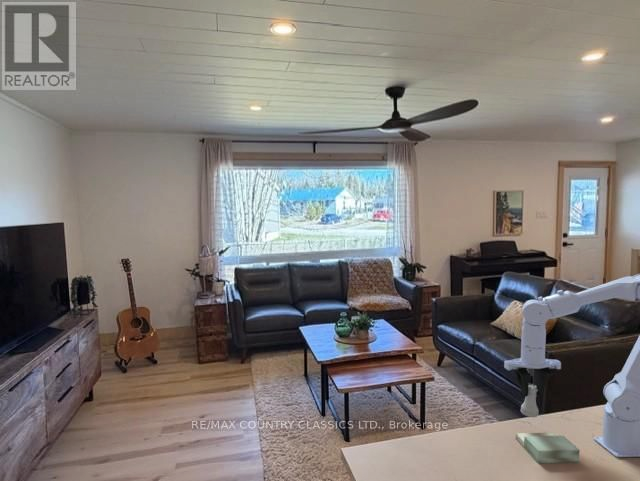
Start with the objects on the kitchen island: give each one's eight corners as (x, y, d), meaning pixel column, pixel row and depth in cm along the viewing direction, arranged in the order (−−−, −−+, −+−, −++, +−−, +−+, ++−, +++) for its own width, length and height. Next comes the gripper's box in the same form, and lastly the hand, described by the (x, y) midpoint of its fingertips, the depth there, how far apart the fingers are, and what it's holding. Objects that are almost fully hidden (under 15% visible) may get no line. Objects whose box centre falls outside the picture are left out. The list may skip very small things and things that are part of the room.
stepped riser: (552, 437, 106) (553, 426, 105) (578, 461, 96) (579, 449, 95) (515, 438, 105) (516, 427, 105) (537, 463, 95) (538, 450, 95)
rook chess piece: (541, 418, 107) (543, 389, 106) (523, 417, 107) (525, 388, 107) (535, 410, 111) (537, 382, 110) (517, 408, 112) (520, 381, 111)
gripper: (550, 340, 112) (548, 387, 113) (499, 340, 111) (497, 388, 112) (567, 348, 105) (564, 399, 106) (512, 349, 104) (510, 400, 105)
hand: (531, 394), depth 109 cm, fingers closed on rook chess piece, 3 cm apart
